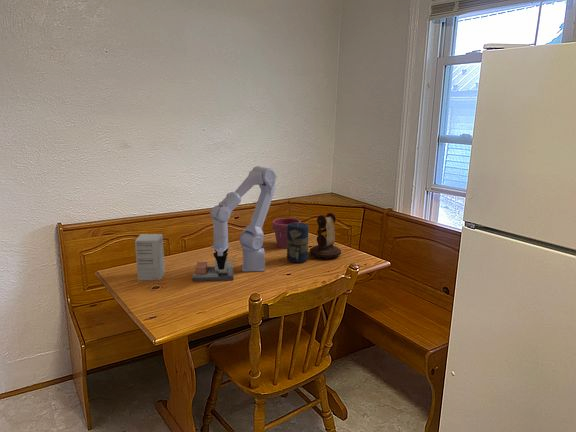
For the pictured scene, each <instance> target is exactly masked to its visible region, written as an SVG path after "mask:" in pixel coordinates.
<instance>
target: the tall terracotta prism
mask: <svg viewBox="0 0 576 432" xmlns="http://www.w3.org/2000/svg"><path fill="white" fill-rule="evenodd" d="M195 266H196V268H195V267H194V271H195V270H196V274H206V273H207V266H208V261H197V262H196V264H195Z"/></svg>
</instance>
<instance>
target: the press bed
mask: <svg viewBox="0 0 576 432" xmlns="http://www.w3.org/2000/svg"><path fill="white" fill-rule="evenodd" d="M233 266H234V265H233V259H228V272H227V273H215V265H207V273H206V274H196V270H195V268H196V265H195V266H194V273H192V282H220V281H222V282H223V281H234V276H235V268H234V267H233Z"/></svg>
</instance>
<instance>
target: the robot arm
mask: <svg viewBox="0 0 576 432" xmlns="http://www.w3.org/2000/svg"><path fill="white" fill-rule="evenodd" d="M277 179H278V176H277V174H276V171H275V170H274V169H273V168H272V167H271V168H268V167H264V166H259V165H256V166H254V167H253V168H252V170H250V171H249V173H248V175H247V176H246V178H245V179H244V180H243V181H242V183H241V184H239V186H238V187H237V188H236V189H235V191H231V192H227V194H226V196H225V197H224V198H223V199H222V201H220V202H218V204H217V205H214V206H213V207H212V209H211V210H210V212H209V216H210V218H212V228H213V230H212V232H213V233H212V234H213V244H212V245H211V246H210V249H214V251H215V252H213V258H215V259H216V261H217V265H218V269H219V270H224V267H225V260H226V257H228V254H229V253H228V251H229V232H228V229H229V228H228V225H229V224H228V220H229V219H230V218H231V214H232V212H233V211H234V210H235V209H236V208H237V206H238V205H239V204H240V203H241V202H242V197H243V196H244V195H246V193H248V192H249V191H250V190H251V189H252V188H253V187H254V186H257V185H258V187H259V188H260V193H259V196H258V199H257V202H256V204H255V207H254V210H253V213H252V217H251V220H250V222H249V224H248V225H247V226H246V227H245V228H244V230H243V232H242V233H241V234H240V235H239V243H240V244H241V247H242V265H241V271H242V272H263V271H265V266H266V260H265V248H264V247H263V244H264V237H265V235H264V231H263V229H262V228H263V226H264V223H265V220H266V217H267V215H268V212H269V208H270V206H271V202H272V199H273V196H274V195H275V191H276V180H277ZM215 259H214V260H215Z"/></svg>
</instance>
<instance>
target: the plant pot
mask: <svg viewBox="0 0 576 432" xmlns="http://www.w3.org/2000/svg"><path fill="white" fill-rule="evenodd" d="M295 222H300V223H302V222H301V220H300V219H298V218H292V217H283V218H282V217H281V218H280V217H279V218H275V219H274V220H272V226H271V227H272V230H273V231H274V235H275V236H274V237H275V241H276V245H277V246H278V248H281V249H282V248H283V249H287V227H288V225H289V224H290V223H295Z"/></svg>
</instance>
